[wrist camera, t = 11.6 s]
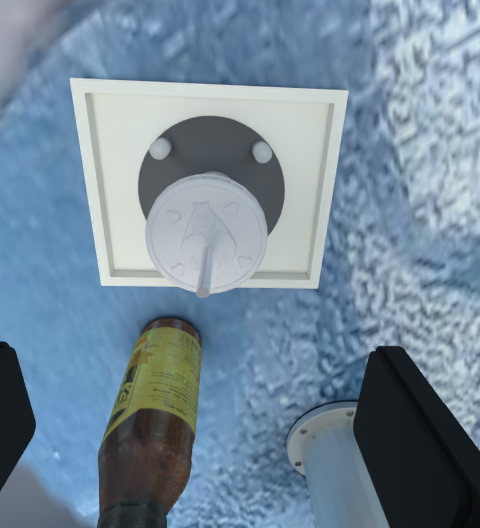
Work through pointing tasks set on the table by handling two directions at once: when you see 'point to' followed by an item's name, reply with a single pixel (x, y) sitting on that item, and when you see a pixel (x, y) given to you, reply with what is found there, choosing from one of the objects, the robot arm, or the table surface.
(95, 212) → the pin tray
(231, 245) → the smoothie
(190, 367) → the sauce bottle
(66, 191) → the table surface
